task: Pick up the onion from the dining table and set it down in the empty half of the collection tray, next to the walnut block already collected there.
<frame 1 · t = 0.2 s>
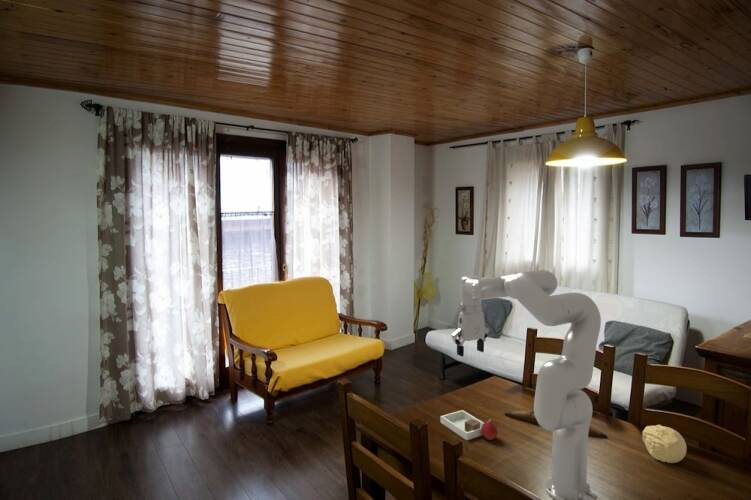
hand: (470, 353, 172), 30 cm above the table, fingers open, 9 cm apart
bread: (553, 427, 177), on the table
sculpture: (664, 458, 153), on the table
walnut block: (472, 432, 171), point 1 cm above the table, touching tray
tray: (464, 429, 175), on the table
onion: (489, 440, 166), on the table
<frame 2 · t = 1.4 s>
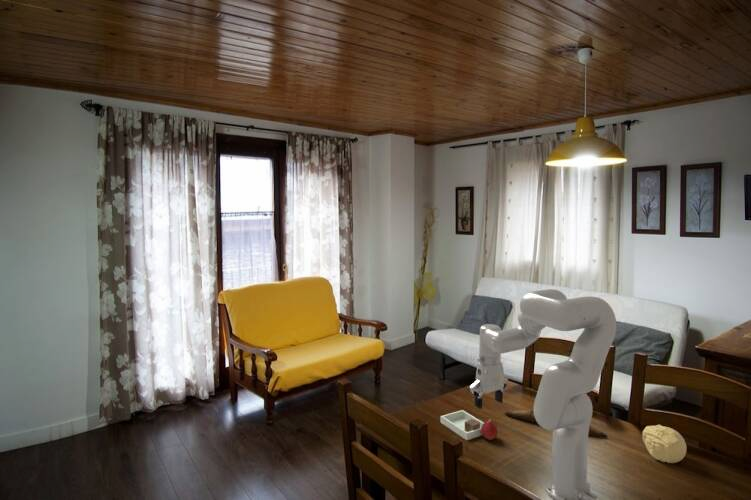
hand: (488, 404, 166), 13 cm above the table, fingers open, 9 cm apart
nothing on the table moved.
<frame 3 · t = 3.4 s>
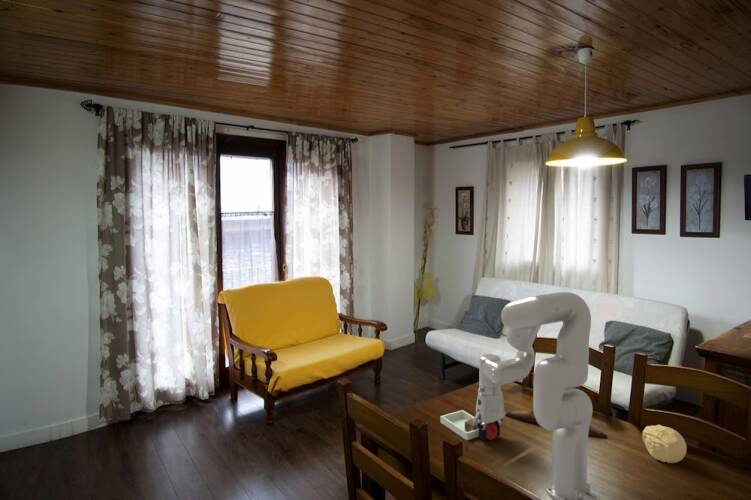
hand: (489, 436, 166), 2 cm above the table, fingers closed on onion, 5 cm apart
onion: (489, 440, 166), on the table, touching gripper
everything else where it was.
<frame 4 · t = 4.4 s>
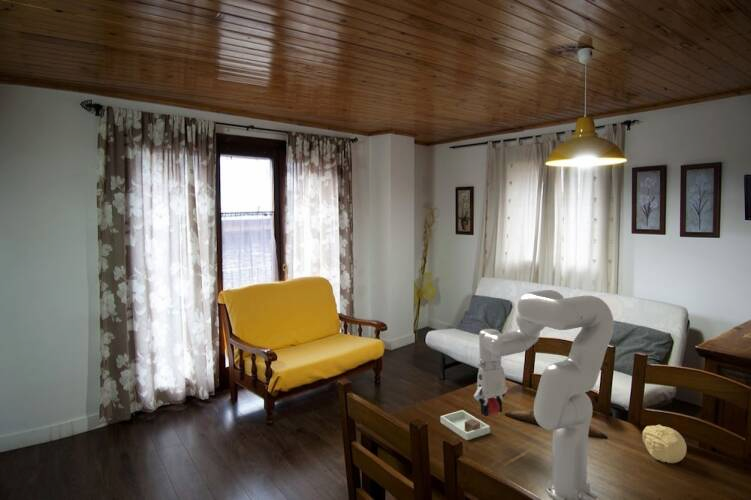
hand: (491, 412, 164), 11 cm above the table, fingers closed on onion, 5 cm apart
onion: (491, 417, 165), point 9 cm above the table, touching gripper
everything else where it was.
when the fingers open (4 cm above the table, at t = 8.5 s): onion drops 1 cm, resting on tray.
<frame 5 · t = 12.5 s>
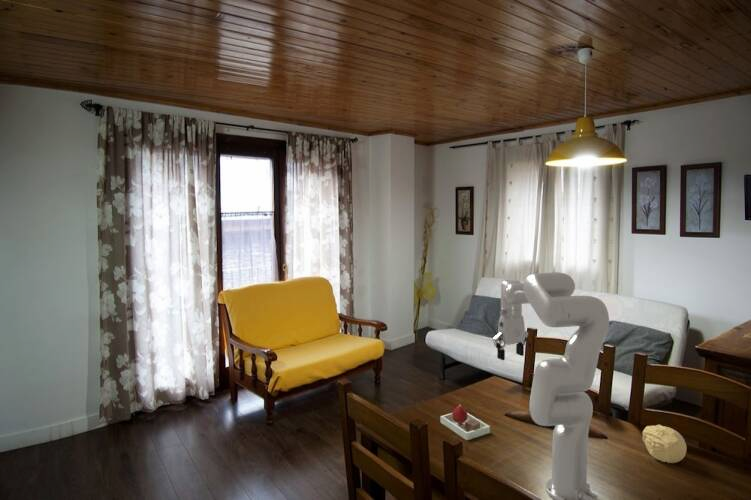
hand: (510, 356, 173), 28 cm above the table, fingers open, 9 cm apart
onion: (459, 424, 177), point 1 cm above the table, touching tray
everything else where it was.
at the end: onion inside the target area on the tray (2.8 cm from its centre), point 0.6 cm above the tray's base; onion touching tray; the gripper is holding nothing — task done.
